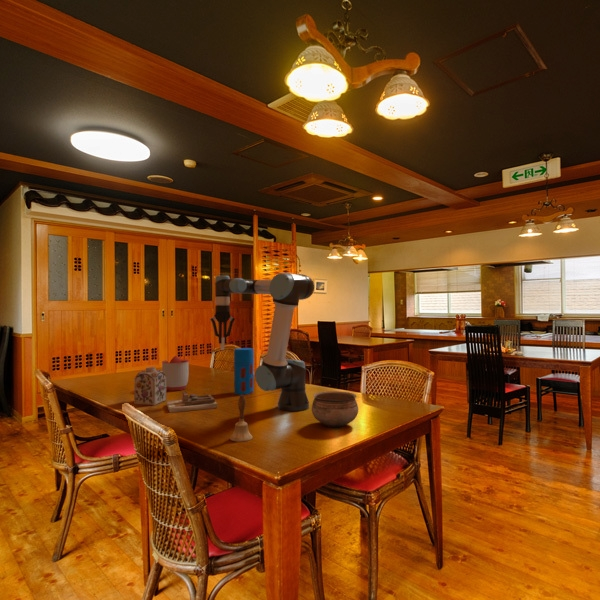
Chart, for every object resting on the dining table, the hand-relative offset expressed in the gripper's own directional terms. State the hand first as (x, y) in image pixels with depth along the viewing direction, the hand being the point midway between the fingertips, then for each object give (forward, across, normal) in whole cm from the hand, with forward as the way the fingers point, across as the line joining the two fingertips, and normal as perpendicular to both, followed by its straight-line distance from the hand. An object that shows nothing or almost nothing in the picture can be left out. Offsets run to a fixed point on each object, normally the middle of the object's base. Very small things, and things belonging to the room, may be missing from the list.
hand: (222, 349), depth 210 cm
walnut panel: (+24, +14, +8) cm, 29 cm away
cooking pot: (+27, -32, +65) cm, 77 cm away
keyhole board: (+26, +17, +8) cm, 32 cm away
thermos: (+27, -15, -13) cm, 33 cm away
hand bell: (+27, +7, +65) cm, 71 cm away
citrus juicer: (+27, +20, -41) cm, 53 cm away
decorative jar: (+27, +35, -10) cm, 45 cm away
